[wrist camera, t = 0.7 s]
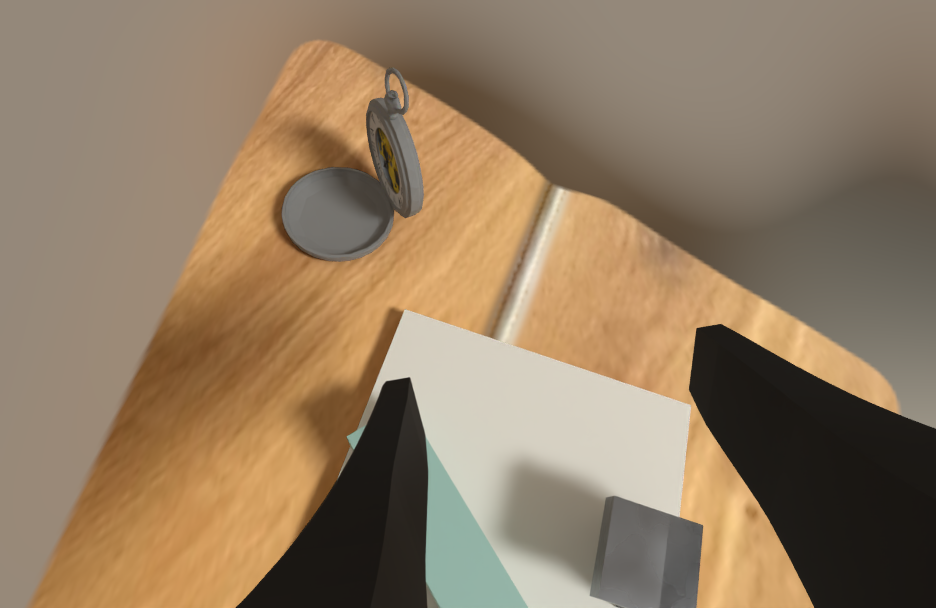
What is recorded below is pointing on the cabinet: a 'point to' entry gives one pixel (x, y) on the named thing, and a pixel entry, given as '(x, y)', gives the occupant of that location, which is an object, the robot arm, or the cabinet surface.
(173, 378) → the cabinet surface
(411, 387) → the robot arm
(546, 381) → the board
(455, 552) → the latch bar
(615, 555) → the block
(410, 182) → the pocket watch
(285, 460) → the cabinet surface
